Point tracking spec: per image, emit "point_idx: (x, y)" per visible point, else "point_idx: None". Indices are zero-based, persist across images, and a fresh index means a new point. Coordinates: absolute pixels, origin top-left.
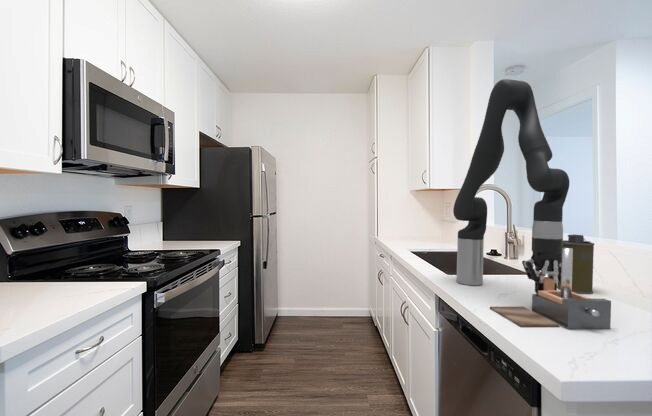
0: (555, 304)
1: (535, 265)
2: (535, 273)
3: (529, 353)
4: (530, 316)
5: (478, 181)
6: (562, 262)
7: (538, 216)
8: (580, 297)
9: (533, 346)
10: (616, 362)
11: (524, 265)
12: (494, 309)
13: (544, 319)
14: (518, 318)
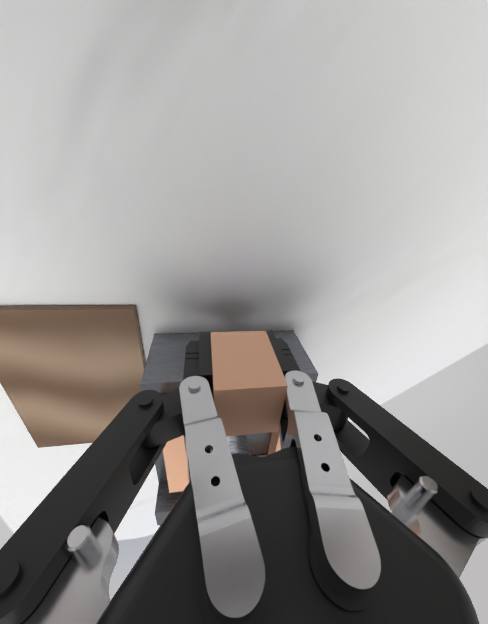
0: (156, 465)
1: (163, 528)
2: (143, 482)
3: (10, 520)
4: (103, 397)
5: None
6: None
7: None
8: (272, 452)
9: (31, 503)
10: (150, 516)
11: (23, 547)
12: None
13: None
14: (51, 412)
